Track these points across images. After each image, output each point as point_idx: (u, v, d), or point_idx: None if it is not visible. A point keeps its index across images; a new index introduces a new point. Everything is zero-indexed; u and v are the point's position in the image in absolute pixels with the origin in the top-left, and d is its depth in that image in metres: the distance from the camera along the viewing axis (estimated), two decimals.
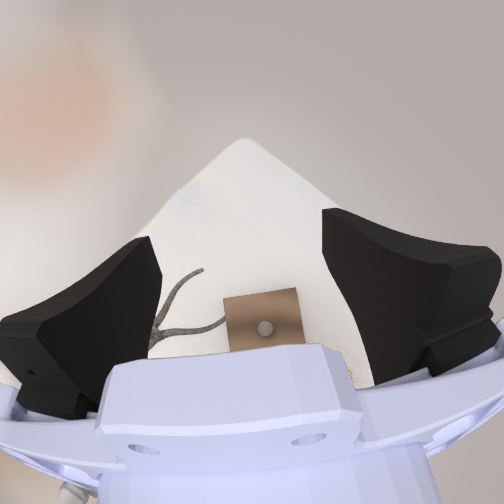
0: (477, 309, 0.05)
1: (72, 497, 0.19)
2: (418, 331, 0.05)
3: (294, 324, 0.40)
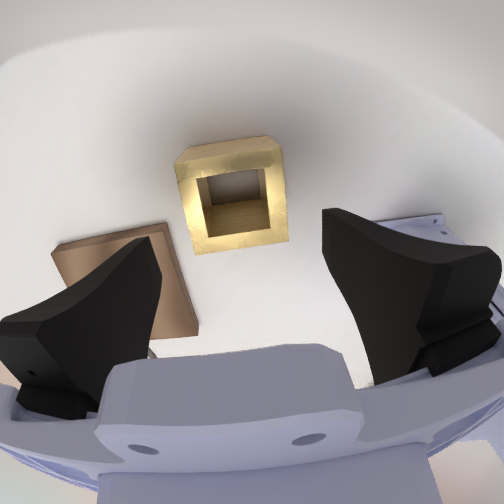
0: (477, 309, 0.05)
1: None
2: (418, 331, 0.05)
3: (103, 255, 0.20)
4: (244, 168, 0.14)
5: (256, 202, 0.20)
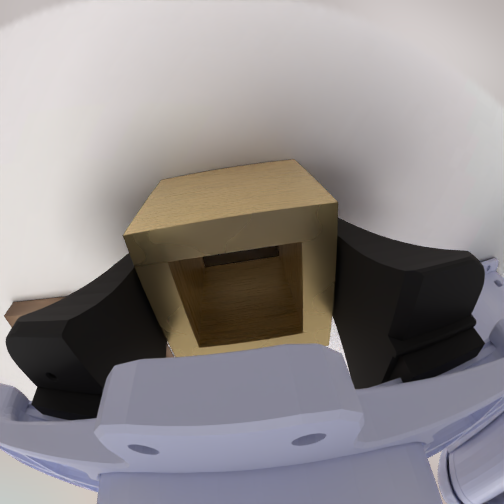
0: (458, 317, 0.05)
1: None
2: (390, 340, 0.05)
3: None
4: (263, 243, 0.07)
5: (273, 265, 0.13)
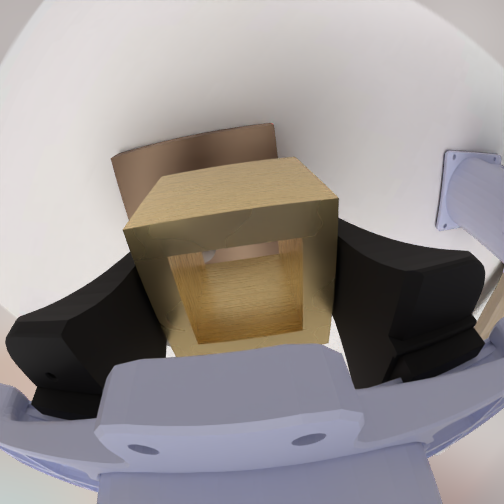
0: (458, 317, 0.05)
1: None
2: (391, 340, 0.05)
3: (190, 154, 0.17)
4: (263, 239, 0.07)
5: (273, 262, 0.13)
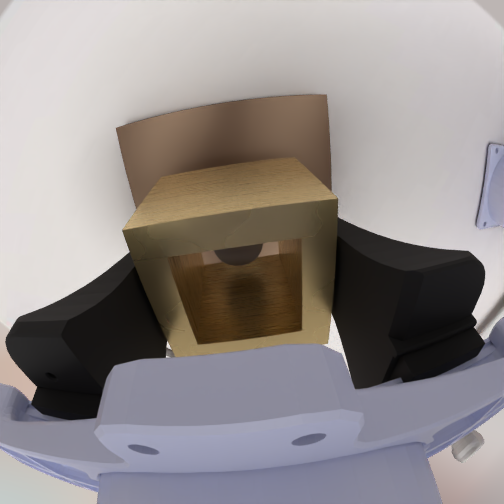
0: (458, 317, 0.05)
1: (473, 453, 0.18)
2: (391, 340, 0.05)
3: (221, 124, 0.13)
4: (262, 239, 0.07)
5: (273, 262, 0.13)
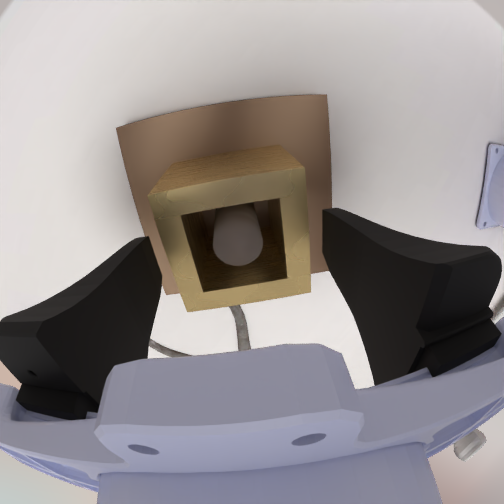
0: (477, 309, 0.05)
1: (475, 452, 0.18)
2: (418, 331, 0.05)
3: (221, 124, 0.13)
4: (250, 199, 0.10)
5: (265, 232, 0.15)
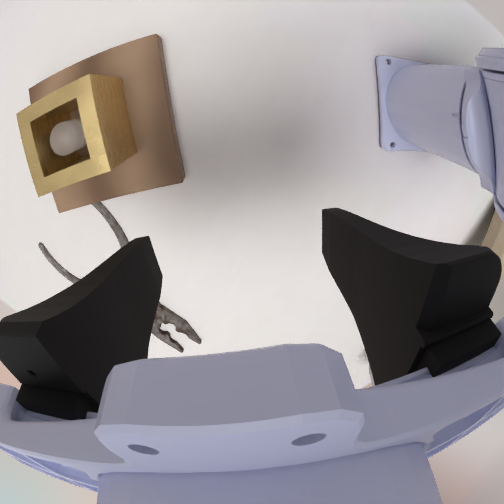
0: (477, 309, 0.05)
1: None
2: (418, 331, 0.05)
3: (85, 73, 0.13)
4: (61, 102, 0.10)
5: None
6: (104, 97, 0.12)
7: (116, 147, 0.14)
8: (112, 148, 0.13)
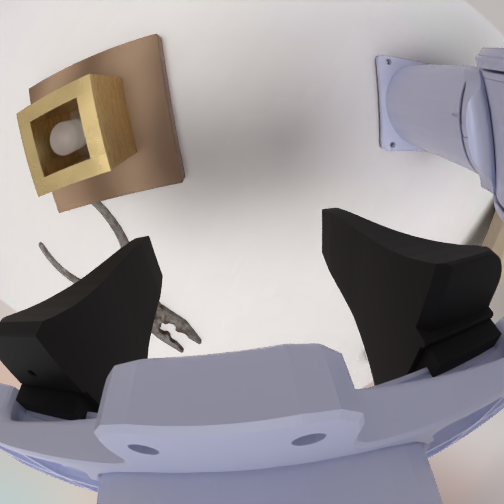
0: (477, 309, 0.05)
1: None
2: (418, 331, 0.05)
3: (85, 73, 0.13)
4: (61, 102, 0.10)
5: None
6: (104, 97, 0.12)
7: (116, 147, 0.14)
8: (112, 148, 0.13)
